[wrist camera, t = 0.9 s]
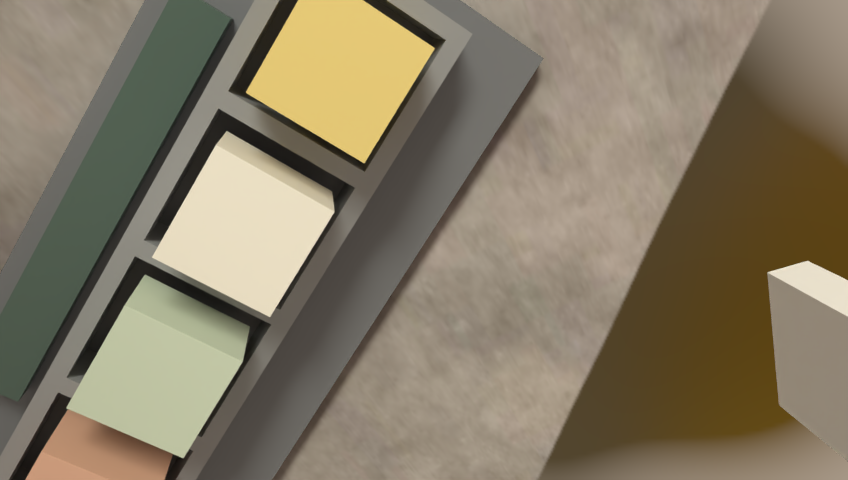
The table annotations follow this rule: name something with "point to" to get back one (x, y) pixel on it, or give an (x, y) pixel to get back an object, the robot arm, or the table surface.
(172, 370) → the key sage
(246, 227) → the key ivory
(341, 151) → the grey compartment tray
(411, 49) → the key mustard
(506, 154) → the table surface
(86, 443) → the key terracotta
